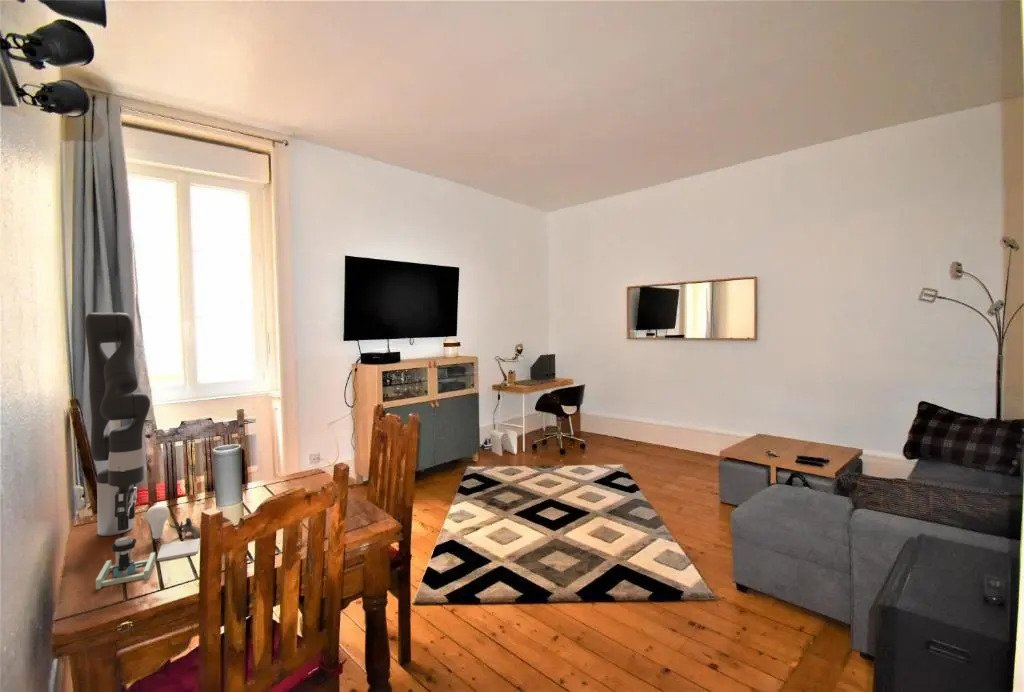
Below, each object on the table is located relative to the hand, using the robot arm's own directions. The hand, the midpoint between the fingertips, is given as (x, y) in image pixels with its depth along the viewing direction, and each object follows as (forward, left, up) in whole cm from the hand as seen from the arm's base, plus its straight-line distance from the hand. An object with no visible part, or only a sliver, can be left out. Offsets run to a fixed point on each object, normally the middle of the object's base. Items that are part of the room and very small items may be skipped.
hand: (126, 524), depth 130 cm
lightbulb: (-23, +4, -14) cm, 27 cm away
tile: (-10, +11, -14) cm, 21 cm away
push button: (0, 0, -14) cm, 14 cm away
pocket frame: (0, 0, -14) cm, 14 cm away
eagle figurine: (-21, +13, -14) cm, 28 cm away
